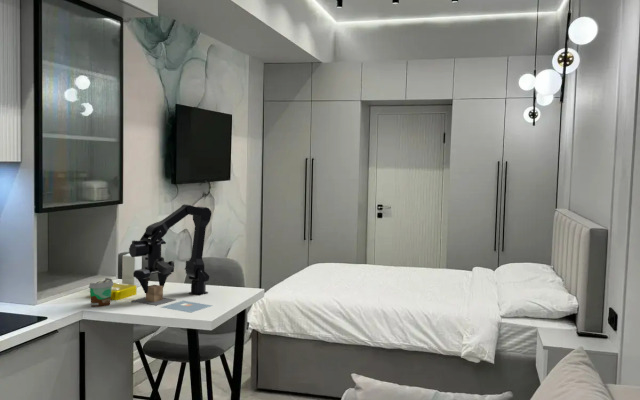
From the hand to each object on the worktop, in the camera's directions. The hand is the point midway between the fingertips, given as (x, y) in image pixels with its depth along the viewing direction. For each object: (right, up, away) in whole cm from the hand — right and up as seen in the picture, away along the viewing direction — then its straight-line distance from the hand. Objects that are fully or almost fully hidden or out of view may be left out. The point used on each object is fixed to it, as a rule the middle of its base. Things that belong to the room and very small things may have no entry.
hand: (153, 291), depth 251 cm
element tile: (-20, -4, +9) cm, 22 cm away
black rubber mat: (0, -4, 0) cm, 4 cm away
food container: (-18, -5, -8) cm, 20 cm away
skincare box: (-18, -2, +28) cm, 33 cm away
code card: (+16, -5, -8) cm, 19 cm away
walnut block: (0, -4, 0) cm, 4 cm away
